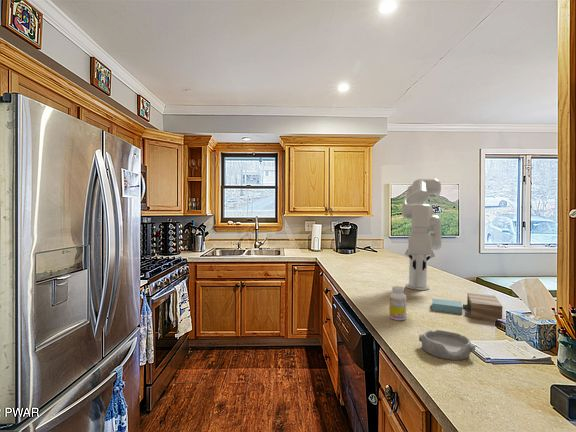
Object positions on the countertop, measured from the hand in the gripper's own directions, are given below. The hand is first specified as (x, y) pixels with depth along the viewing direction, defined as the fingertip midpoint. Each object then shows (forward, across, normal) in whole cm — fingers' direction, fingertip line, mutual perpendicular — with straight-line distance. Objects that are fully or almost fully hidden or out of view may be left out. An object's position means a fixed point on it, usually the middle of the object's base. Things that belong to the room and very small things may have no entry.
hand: (419, 269), depth 153 cm
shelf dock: (+17, -26, 0) cm, 31 cm away
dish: (+18, -10, +49) cm, 53 cm away
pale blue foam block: (+17, -12, 0) cm, 21 cm away
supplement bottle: (+17, +7, +23) cm, 30 cm away
